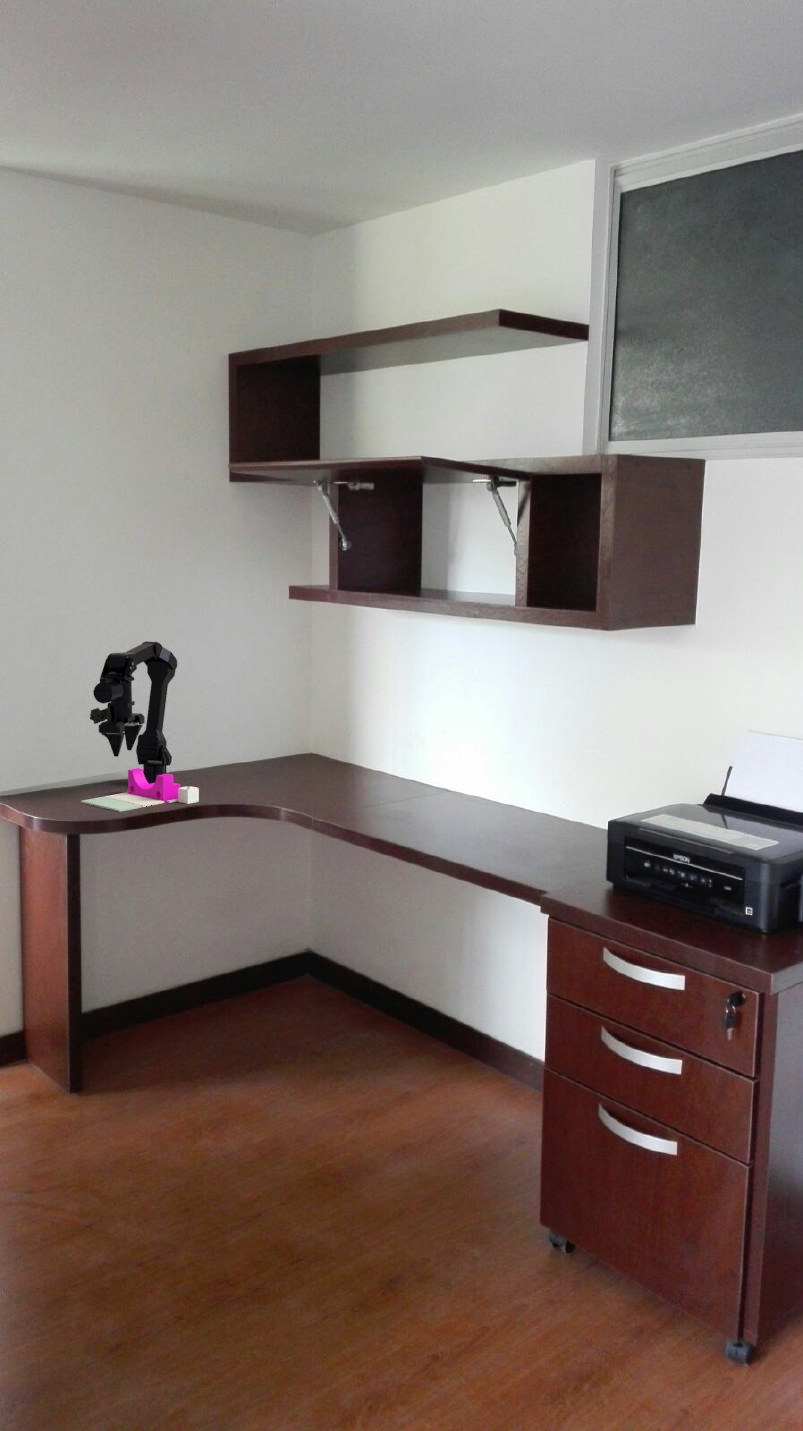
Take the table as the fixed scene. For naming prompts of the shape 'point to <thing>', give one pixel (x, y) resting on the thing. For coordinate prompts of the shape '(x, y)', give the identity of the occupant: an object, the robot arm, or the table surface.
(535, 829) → the table surface
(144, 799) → the game board
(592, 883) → the table surface
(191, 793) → the die
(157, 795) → the toy block
